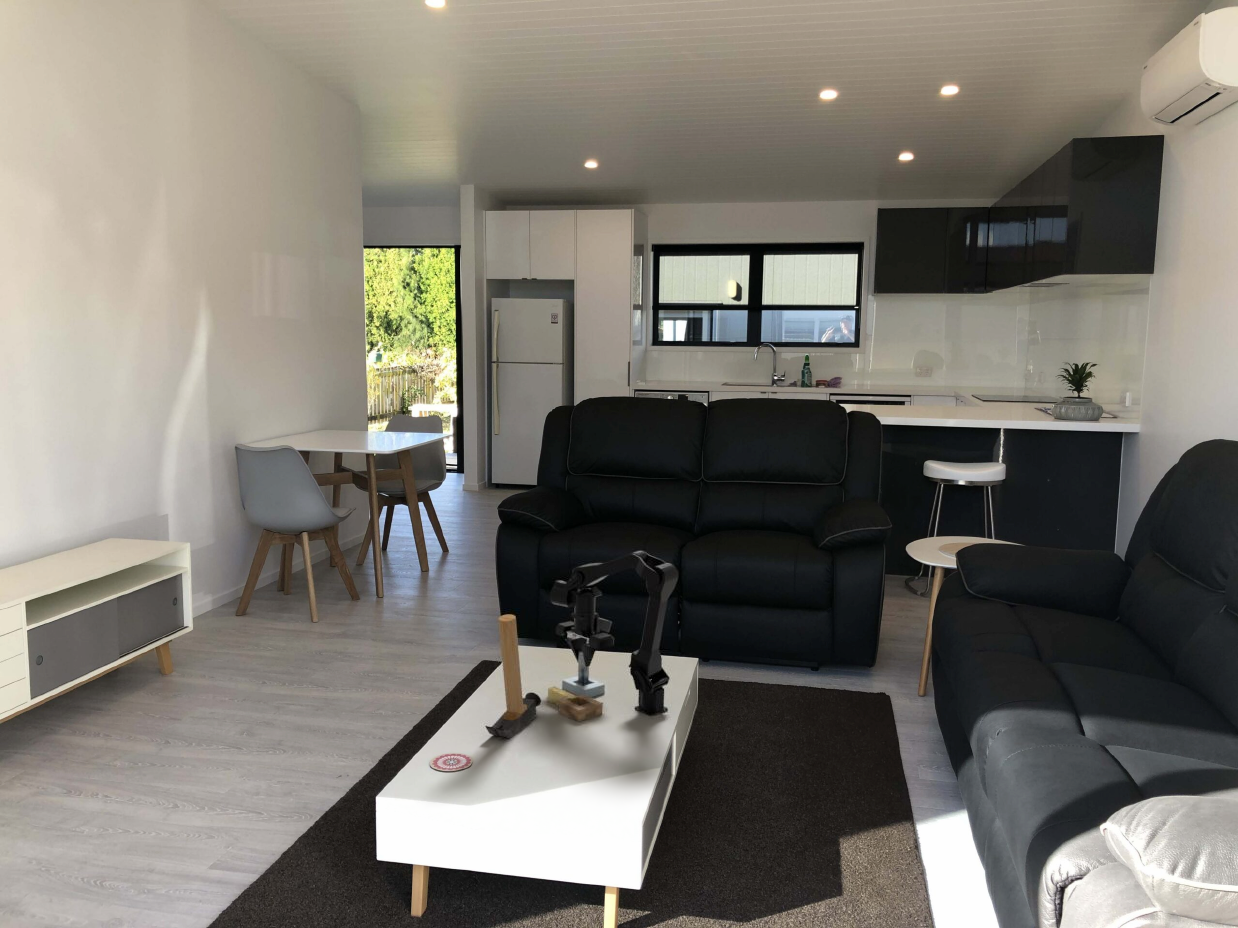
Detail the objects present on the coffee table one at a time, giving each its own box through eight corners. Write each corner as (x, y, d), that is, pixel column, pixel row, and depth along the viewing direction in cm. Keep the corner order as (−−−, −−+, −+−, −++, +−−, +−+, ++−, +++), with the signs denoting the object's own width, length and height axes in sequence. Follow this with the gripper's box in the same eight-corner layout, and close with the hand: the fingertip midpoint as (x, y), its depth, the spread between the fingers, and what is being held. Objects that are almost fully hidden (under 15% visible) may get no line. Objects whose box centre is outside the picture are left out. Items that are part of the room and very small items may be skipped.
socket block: (602, 713, 239) (602, 702, 239) (578, 721, 234) (578, 710, 234) (582, 705, 245) (582, 694, 245) (559, 712, 240) (559, 701, 240)
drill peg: (591, 682, 255) (591, 651, 254) (582, 684, 253) (583, 653, 252) (584, 679, 258) (584, 648, 257) (575, 682, 256) (576, 650, 255)
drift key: (578, 709, 242) (578, 696, 242) (571, 711, 241) (571, 698, 240) (554, 698, 249) (554, 686, 249) (548, 700, 248) (548, 687, 248)
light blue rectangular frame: (604, 692, 255) (604, 684, 254) (585, 698, 250) (585, 689, 250) (581, 683, 262) (581, 674, 262) (562, 688, 257) (562, 680, 257)
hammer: (505, 750, 221) (495, 637, 212) (487, 747, 223) (476, 635, 214) (542, 708, 239) (534, 602, 230) (525, 705, 240) (516, 599, 232)
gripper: (629, 612, 252) (628, 667, 253) (585, 598, 265) (584, 650, 267) (598, 619, 244) (597, 676, 246) (554, 604, 258) (554, 658, 260)
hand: (583, 664), depth 255 cm, fingers closed on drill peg, 3 cm apart
